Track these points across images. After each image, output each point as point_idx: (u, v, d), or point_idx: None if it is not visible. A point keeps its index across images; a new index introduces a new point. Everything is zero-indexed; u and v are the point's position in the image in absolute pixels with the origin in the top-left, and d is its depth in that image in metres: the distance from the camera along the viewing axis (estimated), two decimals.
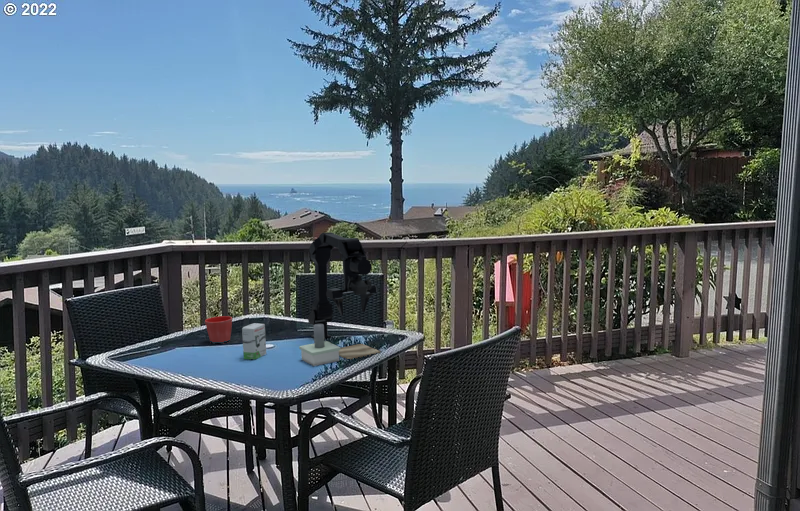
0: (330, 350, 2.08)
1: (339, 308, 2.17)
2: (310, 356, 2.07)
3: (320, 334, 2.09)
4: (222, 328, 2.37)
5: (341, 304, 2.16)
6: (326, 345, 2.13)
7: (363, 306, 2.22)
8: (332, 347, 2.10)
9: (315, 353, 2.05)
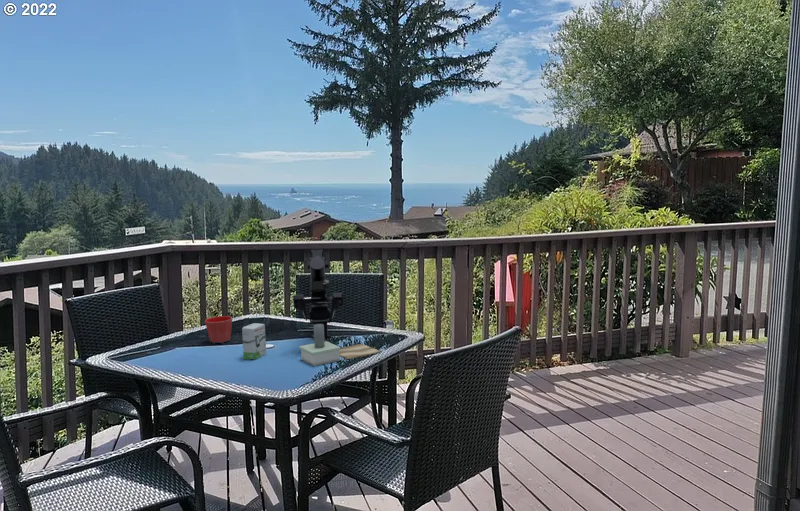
0: (330, 350, 2.08)
1: (303, 313, 2.19)
2: (310, 356, 2.07)
3: (320, 334, 2.09)
4: (222, 328, 2.37)
5: (304, 308, 2.19)
6: (326, 345, 2.13)
7: (331, 313, 2.20)
8: (332, 347, 2.10)
9: (315, 353, 2.05)
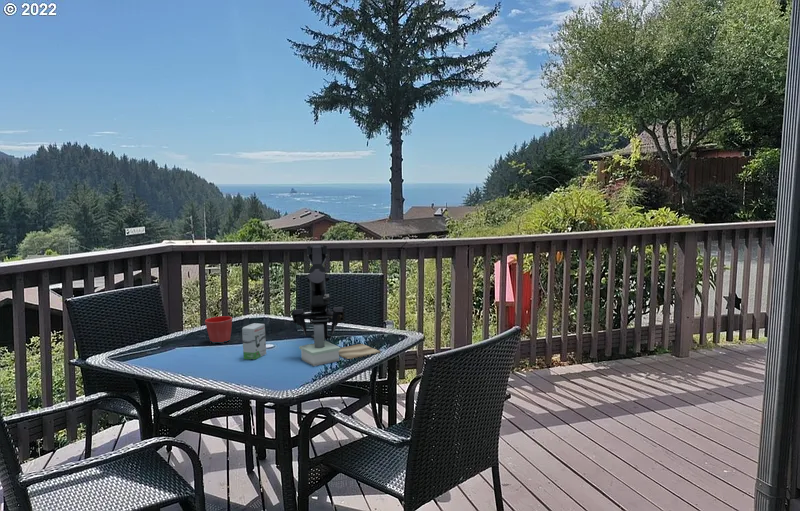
0: (330, 350, 2.08)
1: (303, 328, 2.12)
2: (310, 356, 2.07)
3: (320, 334, 2.09)
4: (222, 328, 2.37)
5: (303, 323, 2.12)
6: (326, 345, 2.13)
7: None
8: (332, 347, 2.10)
9: (315, 353, 2.05)
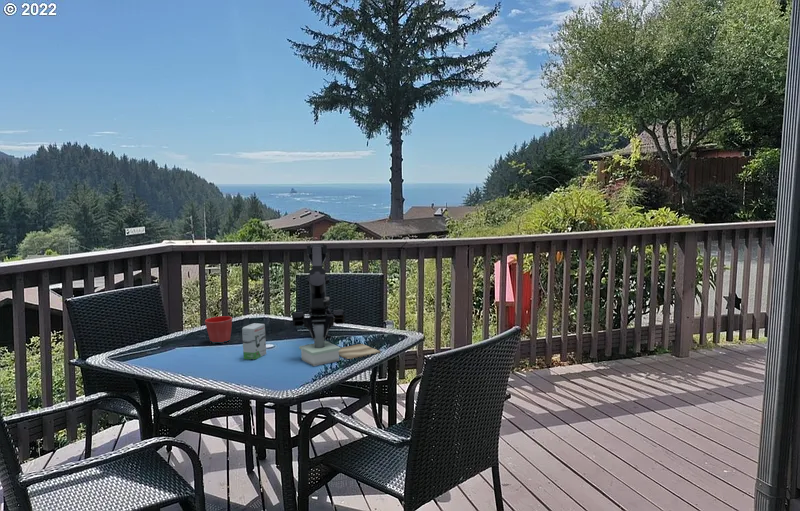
0: (330, 350, 2.08)
1: (310, 331, 2.11)
2: (310, 356, 2.07)
3: (320, 334, 2.09)
4: (222, 328, 2.37)
5: (311, 326, 2.11)
6: (326, 345, 2.13)
7: (324, 332, 2.11)
8: (332, 347, 2.10)
9: (315, 353, 2.05)
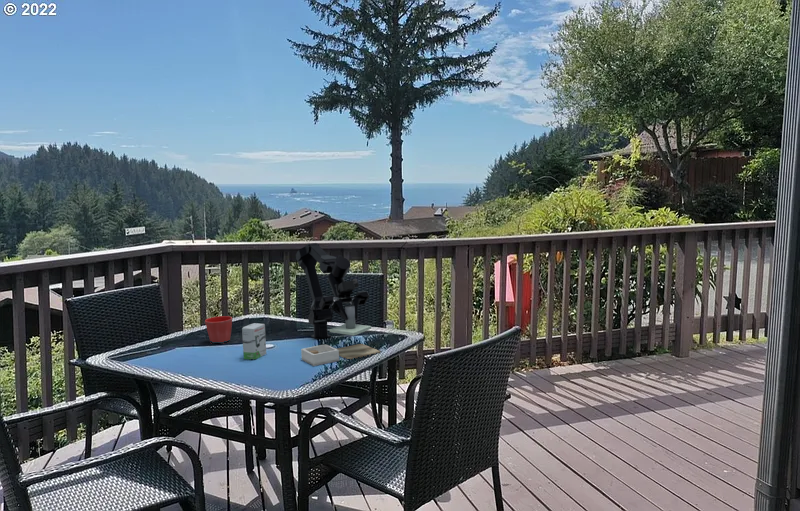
0: (365, 329, 2.17)
1: (342, 313, 2.17)
2: (310, 356, 2.07)
3: (353, 315, 2.17)
4: (222, 328, 2.37)
5: (342, 308, 2.17)
6: (355, 326, 2.21)
7: None
8: (363, 327, 2.19)
9: (355, 333, 2.12)
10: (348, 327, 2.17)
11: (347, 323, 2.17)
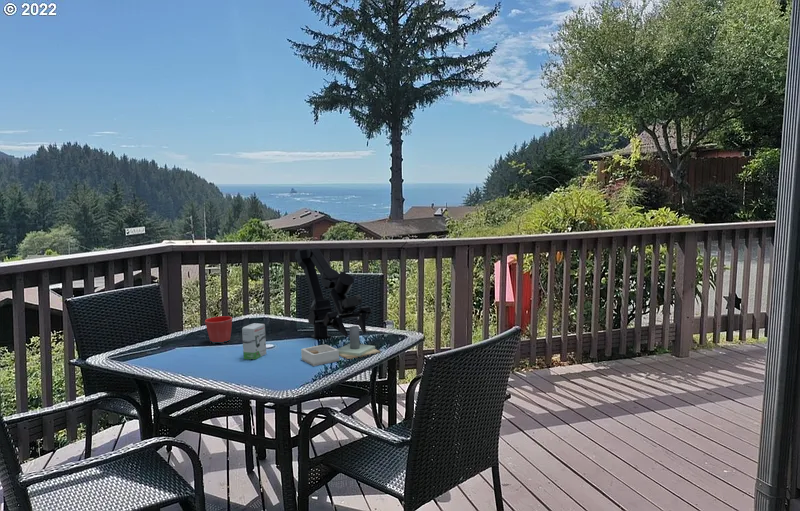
0: (369, 349, 2.20)
1: (342, 330, 2.18)
2: (310, 356, 2.07)
3: (358, 335, 2.19)
4: (222, 328, 2.37)
5: (342, 325, 2.18)
6: None
7: (363, 327, 2.22)
8: (368, 347, 2.22)
9: (361, 353, 2.15)
10: (353, 347, 2.19)
11: (352, 344, 2.19)
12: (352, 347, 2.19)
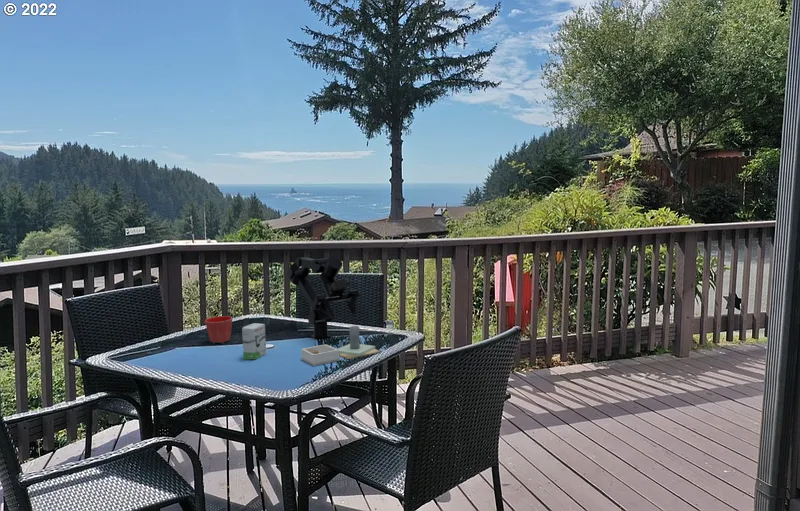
0: (369, 349, 2.20)
1: (329, 312, 2.24)
2: (310, 356, 2.07)
3: (358, 335, 2.19)
4: (222, 328, 2.37)
5: (329, 307, 2.24)
6: None
7: (353, 310, 2.29)
8: (368, 347, 2.22)
9: (361, 353, 2.15)
10: (353, 347, 2.19)
11: (352, 344, 2.19)
12: (352, 347, 2.19)
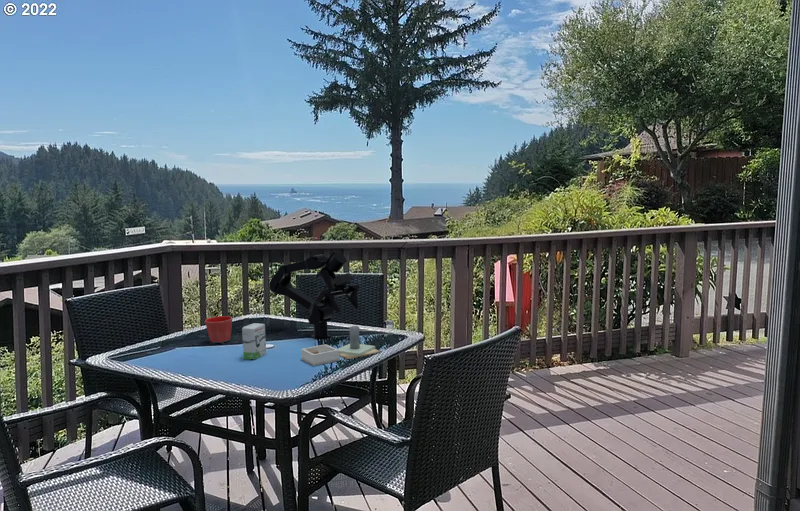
0: (369, 349, 2.20)
1: (334, 306, 2.29)
2: (310, 356, 2.07)
3: (358, 335, 2.19)
4: (222, 328, 2.37)
5: (334, 301, 2.29)
6: None
7: (355, 303, 2.35)
8: (368, 347, 2.22)
9: (361, 353, 2.15)
10: (353, 347, 2.19)
11: (352, 344, 2.19)
12: (352, 347, 2.19)
